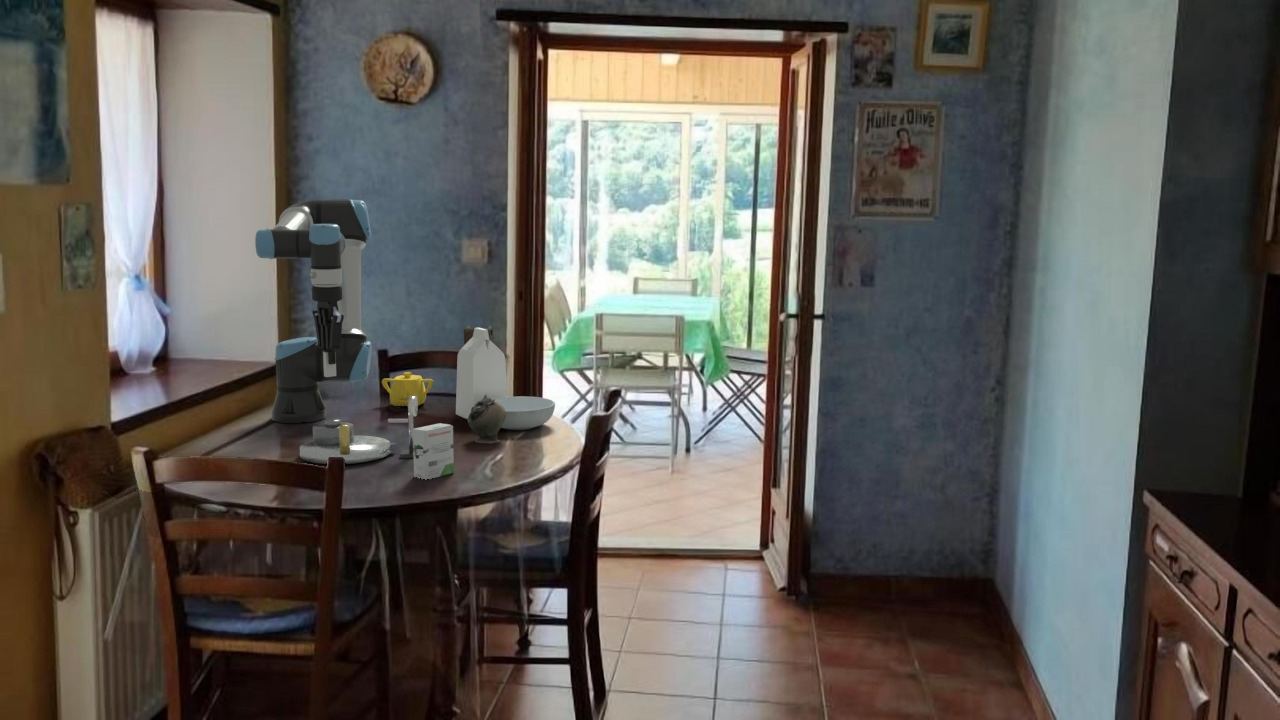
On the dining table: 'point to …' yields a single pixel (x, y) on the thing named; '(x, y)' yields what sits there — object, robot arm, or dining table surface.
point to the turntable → (348, 448)
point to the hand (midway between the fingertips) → (330, 376)
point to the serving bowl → (526, 412)
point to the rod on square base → (411, 412)
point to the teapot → (407, 388)
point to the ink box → (433, 451)
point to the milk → (479, 372)
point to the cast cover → (330, 432)
